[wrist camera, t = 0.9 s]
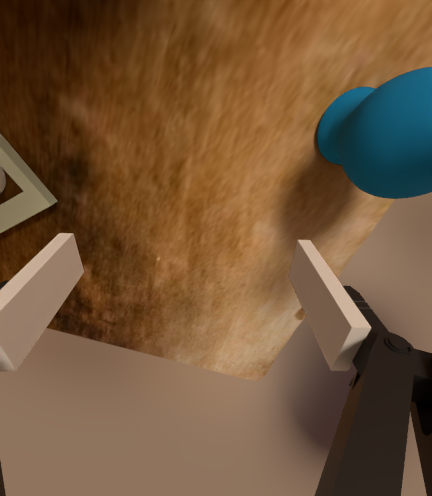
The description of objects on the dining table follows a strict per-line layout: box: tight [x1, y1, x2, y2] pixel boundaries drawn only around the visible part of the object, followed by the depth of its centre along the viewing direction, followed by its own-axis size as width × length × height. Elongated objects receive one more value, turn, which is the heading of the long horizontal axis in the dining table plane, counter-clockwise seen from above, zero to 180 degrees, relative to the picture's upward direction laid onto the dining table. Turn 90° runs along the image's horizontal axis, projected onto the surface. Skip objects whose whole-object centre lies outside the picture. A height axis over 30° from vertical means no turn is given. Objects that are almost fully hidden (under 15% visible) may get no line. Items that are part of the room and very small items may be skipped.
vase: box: [317, 67, 432, 199], centre depth 24 cm, size 12×13×28 cm
